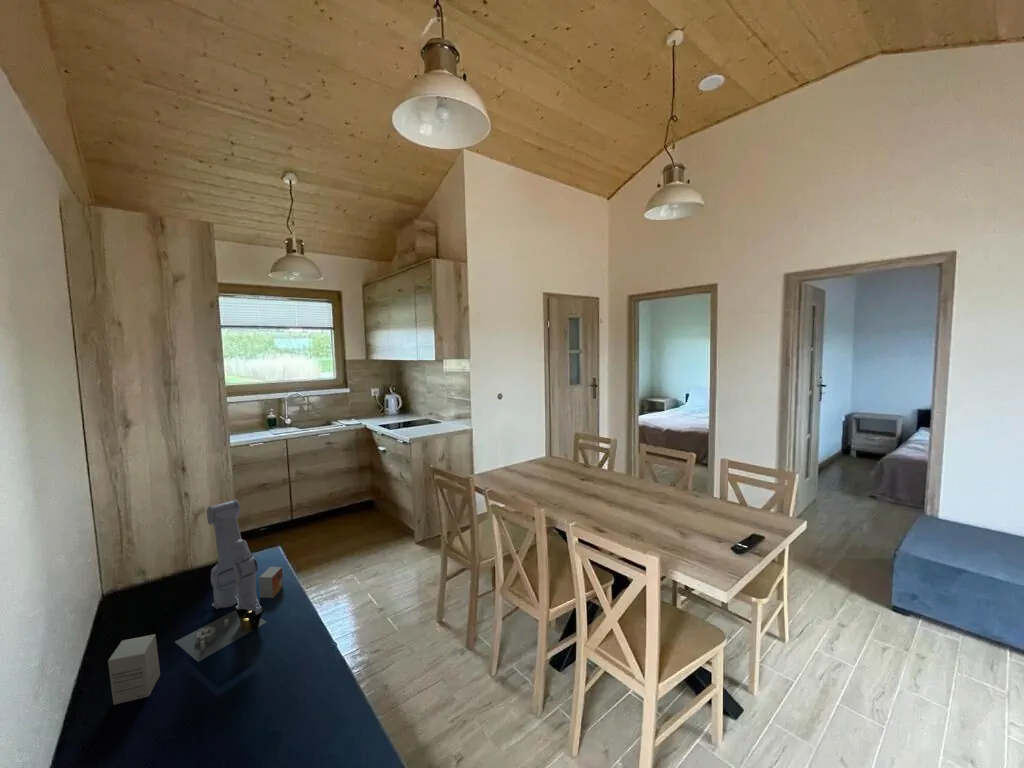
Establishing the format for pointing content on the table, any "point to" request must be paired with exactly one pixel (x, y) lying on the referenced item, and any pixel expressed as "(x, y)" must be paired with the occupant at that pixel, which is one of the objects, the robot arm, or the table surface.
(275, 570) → the small box
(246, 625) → the brass gear
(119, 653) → the supplement box
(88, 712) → the table surface
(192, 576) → the table surface
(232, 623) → the gear board
